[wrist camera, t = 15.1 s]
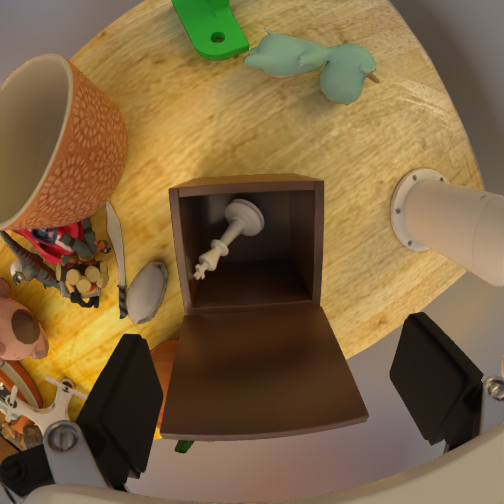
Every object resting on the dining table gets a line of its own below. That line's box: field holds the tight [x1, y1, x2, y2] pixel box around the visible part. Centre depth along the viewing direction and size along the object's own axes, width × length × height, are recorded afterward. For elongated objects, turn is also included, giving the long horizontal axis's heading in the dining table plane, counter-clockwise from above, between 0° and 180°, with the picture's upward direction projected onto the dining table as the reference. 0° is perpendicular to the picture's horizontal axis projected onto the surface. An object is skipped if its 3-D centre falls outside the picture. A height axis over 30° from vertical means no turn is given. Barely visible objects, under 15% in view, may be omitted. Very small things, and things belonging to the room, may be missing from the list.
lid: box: [160, 306, 369, 441], centre depth 19 cm, size 12×13×1 cm
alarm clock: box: [0, 359, 43, 434], centre depth 39 cm, size 22×10×23 cm
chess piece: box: [193, 199, 264, 280], centre depth 29 cm, size 5×5×10 cm
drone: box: [6, 376, 88, 435], centre depth 40 cm, size 23×23×10 cm
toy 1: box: [0, 278, 49, 364], centre depth 34 cm, size 17×16×15 cm
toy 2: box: [56, 218, 111, 308], centre depth 31 cm, size 8×9×15 cm
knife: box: [105, 200, 128, 319], centre depth 35 cm, size 19×2×1 cm, turn 0°
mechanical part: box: [171, 0, 249, 60], centre depth 22 cm, size 12×6×8 cm, turn 23°
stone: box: [127, 262, 168, 324], centre depth 35 cm, size 10×5×5 cm
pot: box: [0, 435, 19, 464], centre depth 47 cm, size 28×28×20 cm
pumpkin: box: [150, 340, 214, 453], centre depth 34 cm, size 19×19×15 cm
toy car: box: [11, 221, 84, 266], centre depth 30 cm, size 10×22×5 cm, turn 60°
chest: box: [169, 174, 324, 315], centre depth 29 cm, size 12×13×12 cm
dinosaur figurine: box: [0, 231, 71, 295], centre depth 31 cm, size 5×20×11 cm
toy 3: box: [244, 28, 379, 105], centre depth 26 cm, size 9×10×15 cm
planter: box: [0, 53, 128, 231], centre depth 23 cm, size 17×17×15 cm
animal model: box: [2, 421, 25, 449], centre depth 49 cm, size 9×26×15 cm
